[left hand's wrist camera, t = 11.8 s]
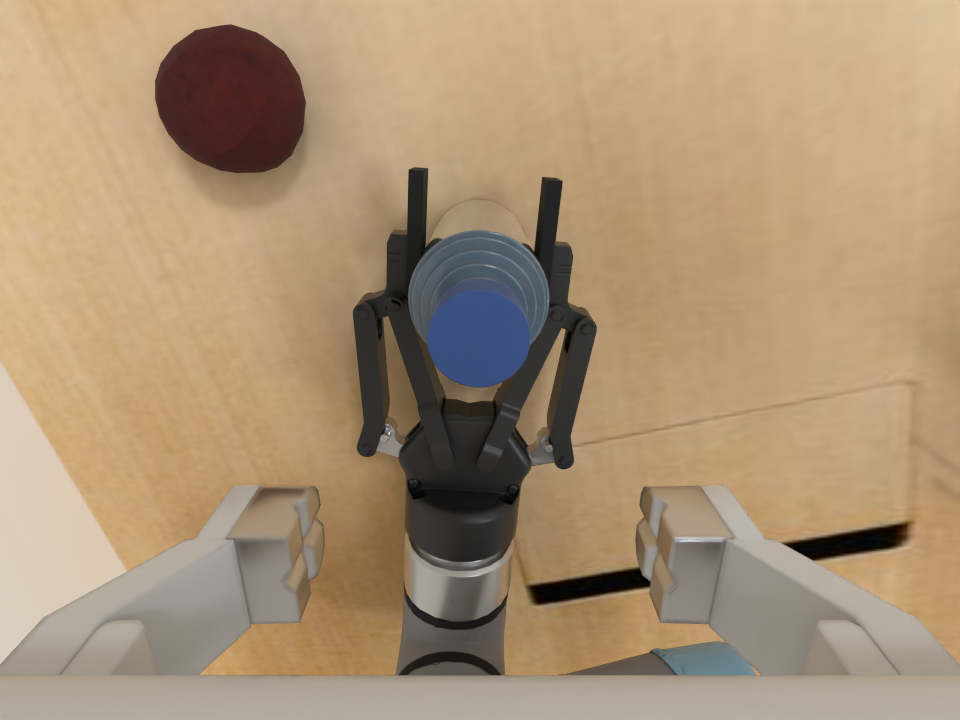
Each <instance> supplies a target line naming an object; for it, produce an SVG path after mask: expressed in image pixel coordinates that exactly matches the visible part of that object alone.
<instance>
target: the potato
mask: <svg viewBox="0 0 960 720" xmlns="http://www.w3.org/2000/svg"><path fill="white" fill-rule="evenodd" d="M155 100H156V104H157V108H158V112H159V116H160V118H161V120H162V122H163V124H164V126H165V128H166V130H167V132H168V134H169V135H170V136H171V138H172V139H173V140H174V141H175V142H176V144H177V145H178V146H179V147H180V148H181V150H183V151H184V152H186V153H187V154H188V155H190V156H191V157H193V158H194V159H195V160H197V161H199V162H201V163H203V164H206V165H208V166H211V167H213V168H216V169H218V170H222V171H228V172H235V173H252V172H264V171H267V170H270V169H273V168H276V167H278V166H279V165H280V164H282V163H283V162H284V161H285V160H286V159H287V158H289V157H290V156H291V155H292V153H293V151H294V149H295V147H296V145H297V142H298V140H299V138H300V136H301V134H302V132H303V125H304V115H305V105H306V102H305V97H304V93H303V89H302V84H301V80H300V76H299V75H298V73H297V71H296V70H295V68H294V66H293V65H292V63H291V62H290V60H289V58H288V57H287V55H286V54H285V52H284V51H283V50H281V49H280V48H279V47H277V46H276V45H275V44H273V43H272V42H271V41H269V40H268V39H267V38H265V37H264V36H262V35H260V34H258V33H256V32H253V31H250V30H247V29H244V28H241V27H237V26H234V25H222V26H216V27H211V28H205V29H200V30H195V31H194V32H192V33H191V34H190V35H188V36H187V37H185V38H184V39H183V40H181V41H180V42H179V43H177V44H176V45H174V46H173V48H172V49H171V50H170V52H169V53H168V54H167V56H166V57H165V58H164V60H163V61H162V62H161V64H160V68H159V71H158V74H157V77H156V80H155Z"/></svg>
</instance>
